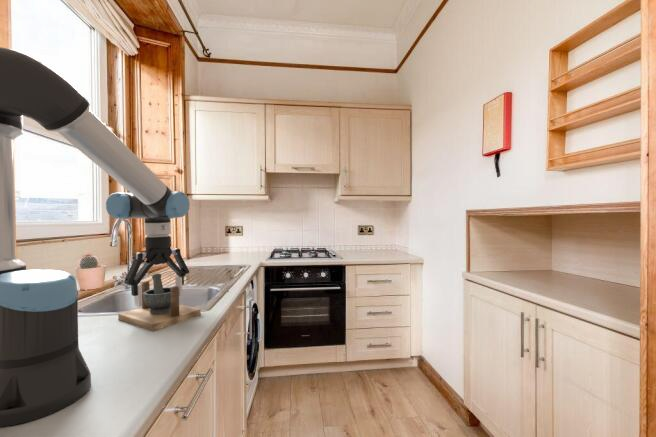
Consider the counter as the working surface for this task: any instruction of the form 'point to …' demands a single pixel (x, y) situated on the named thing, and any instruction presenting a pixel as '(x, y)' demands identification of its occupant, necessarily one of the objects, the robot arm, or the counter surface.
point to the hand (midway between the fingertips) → (159, 300)
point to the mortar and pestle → (158, 297)
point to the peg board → (156, 322)
